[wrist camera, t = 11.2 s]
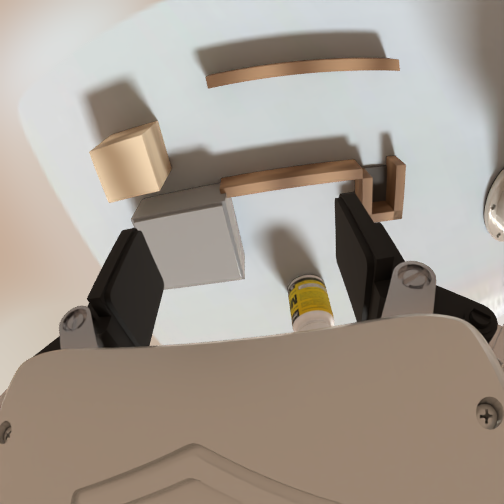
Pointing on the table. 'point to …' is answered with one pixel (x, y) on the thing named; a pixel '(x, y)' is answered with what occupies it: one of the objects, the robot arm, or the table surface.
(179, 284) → the stand
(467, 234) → the table surface
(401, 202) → the channel
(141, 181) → the block
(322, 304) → the supplement bottle
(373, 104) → the table surface
